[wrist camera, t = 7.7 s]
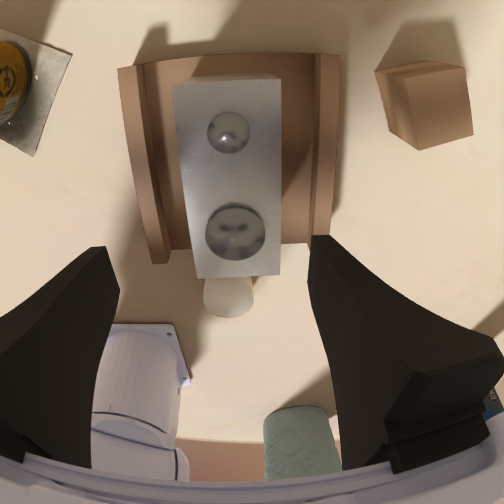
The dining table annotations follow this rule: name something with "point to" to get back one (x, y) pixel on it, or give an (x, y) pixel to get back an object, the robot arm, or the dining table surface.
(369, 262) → the dining table surface
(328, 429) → the green embossed planter
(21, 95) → the condiment
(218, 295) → the plastic cap
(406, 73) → the walnut block
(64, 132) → the dining table surface
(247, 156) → the block
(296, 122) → the stand
